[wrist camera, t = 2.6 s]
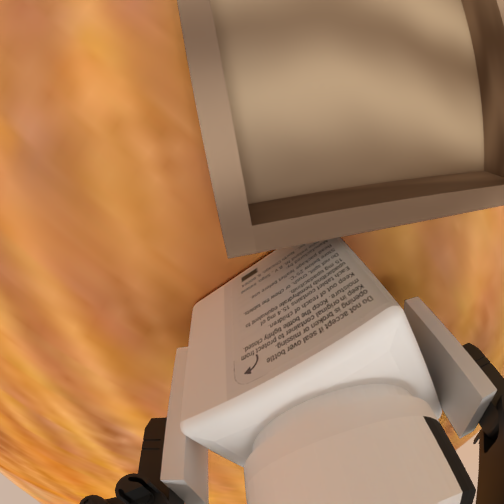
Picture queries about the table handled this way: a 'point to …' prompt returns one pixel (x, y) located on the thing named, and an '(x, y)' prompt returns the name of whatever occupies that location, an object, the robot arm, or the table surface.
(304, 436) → the container
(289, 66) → the crate
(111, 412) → the table surface
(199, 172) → the table surface
